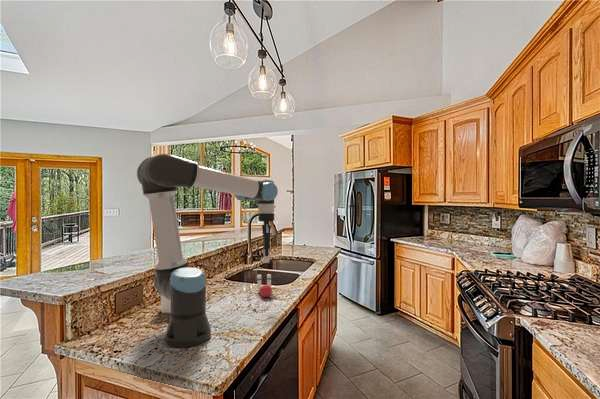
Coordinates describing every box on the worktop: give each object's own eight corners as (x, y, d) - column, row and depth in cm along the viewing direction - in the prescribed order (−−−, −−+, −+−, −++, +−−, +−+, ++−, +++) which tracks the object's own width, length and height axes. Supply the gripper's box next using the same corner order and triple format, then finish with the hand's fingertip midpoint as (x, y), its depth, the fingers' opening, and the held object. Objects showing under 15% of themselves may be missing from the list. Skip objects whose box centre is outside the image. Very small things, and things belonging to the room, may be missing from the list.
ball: (270, 283, 156) (272, 295, 155) (258, 285, 155) (260, 297, 154) (271, 284, 151) (273, 296, 150) (259, 286, 149) (260, 299, 148)
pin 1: (261, 292, 159) (261, 275, 159) (257, 293, 159) (257, 275, 159) (261, 291, 161) (261, 274, 161) (257, 292, 161) (257, 274, 161)
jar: (160, 308, 137) (160, 281, 137) (179, 305, 141) (179, 279, 141) (161, 314, 129) (161, 286, 129) (182, 311, 133) (182, 283, 133)
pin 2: (271, 292, 160) (271, 275, 160) (267, 292, 160) (267, 275, 160) (270, 291, 162) (270, 274, 162) (266, 291, 162) (266, 274, 162)
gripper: (275, 213, 140) (275, 265, 140) (272, 212, 153) (273, 259, 153) (259, 213, 139) (259, 265, 139) (257, 212, 152) (257, 260, 152)
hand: (266, 262), depth 146 cm, fingers closed
